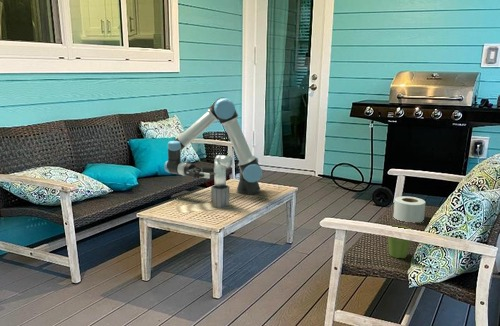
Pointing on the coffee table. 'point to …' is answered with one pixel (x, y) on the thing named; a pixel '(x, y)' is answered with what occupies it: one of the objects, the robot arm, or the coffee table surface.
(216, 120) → the robot arm
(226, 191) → the grey wooden bucket
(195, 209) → the birch board
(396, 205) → the toilet paper roll
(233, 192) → the coffee table surface
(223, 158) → the polished capsule rod
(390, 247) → the plant pot
